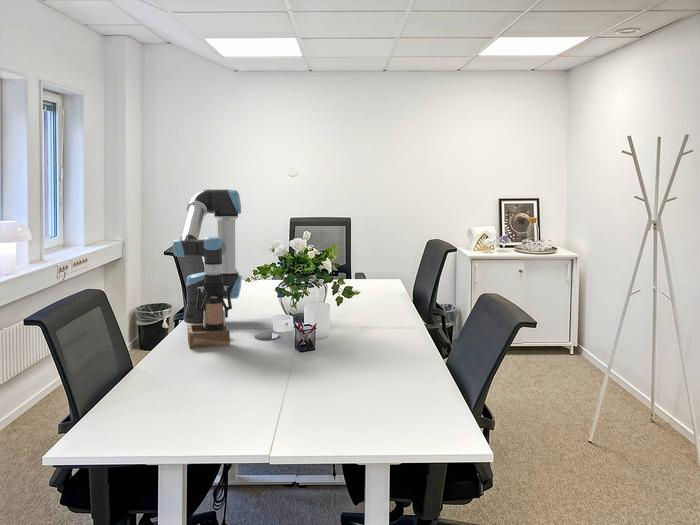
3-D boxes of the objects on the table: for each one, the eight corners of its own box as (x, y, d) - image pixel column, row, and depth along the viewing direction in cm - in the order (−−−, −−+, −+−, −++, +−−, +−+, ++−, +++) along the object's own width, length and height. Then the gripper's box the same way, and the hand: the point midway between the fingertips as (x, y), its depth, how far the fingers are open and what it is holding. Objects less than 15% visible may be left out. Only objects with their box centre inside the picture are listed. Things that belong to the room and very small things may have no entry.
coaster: (252, 334, 268) (252, 332, 268) (276, 333, 272) (276, 331, 272) (256, 341, 258) (256, 339, 258) (281, 339, 261) (281, 337, 261)
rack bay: (187, 339, 259) (187, 324, 258) (225, 336, 265) (225, 322, 264) (189, 348, 245) (189, 333, 244) (229, 345, 250) (229, 330, 250)
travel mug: (221, 344, 252) (220, 298, 249) (203, 344, 252) (202, 298, 249) (225, 339, 259) (224, 295, 257) (208, 339, 260) (207, 294, 257)
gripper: (189, 275, 245) (190, 329, 248) (238, 274, 251) (239, 326, 254) (188, 273, 252) (189, 325, 255) (236, 271, 258) (237, 322, 261)
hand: (214, 325), depth 255 cm, fingers closed on travel mug, 8 cm apart
